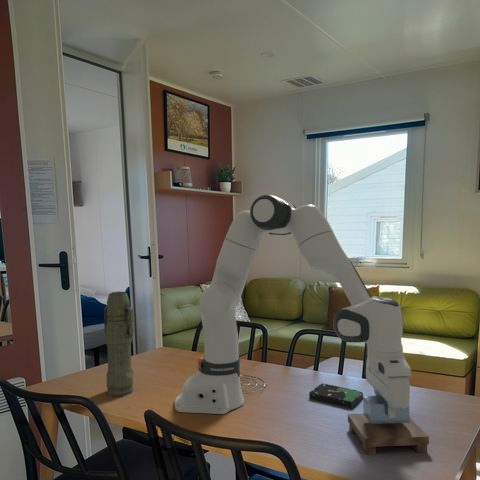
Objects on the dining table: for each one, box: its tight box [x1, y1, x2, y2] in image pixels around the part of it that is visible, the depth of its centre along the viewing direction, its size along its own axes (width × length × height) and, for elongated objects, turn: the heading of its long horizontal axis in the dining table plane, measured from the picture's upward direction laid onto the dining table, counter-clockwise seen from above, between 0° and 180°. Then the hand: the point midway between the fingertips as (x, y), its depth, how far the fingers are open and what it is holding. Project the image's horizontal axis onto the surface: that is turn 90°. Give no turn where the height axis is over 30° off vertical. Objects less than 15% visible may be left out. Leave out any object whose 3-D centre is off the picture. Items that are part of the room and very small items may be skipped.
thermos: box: [103, 291, 134, 398], centre depth 145 cm, size 9×12×35 cm
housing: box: [362, 395, 410, 424], centre depth 109 cm, size 10×6×5 cm, turn 93°
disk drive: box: [308, 382, 364, 410], centre depth 136 cm, size 10×3×15 cm
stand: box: [347, 413, 430, 455], centre depth 109 cm, size 16×14×4 cm
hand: (385, 411), depth 109 cm, fingers closed on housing, 5 cm apart
